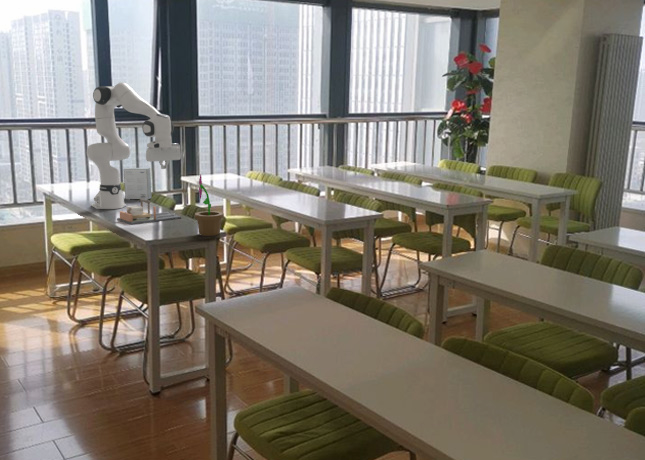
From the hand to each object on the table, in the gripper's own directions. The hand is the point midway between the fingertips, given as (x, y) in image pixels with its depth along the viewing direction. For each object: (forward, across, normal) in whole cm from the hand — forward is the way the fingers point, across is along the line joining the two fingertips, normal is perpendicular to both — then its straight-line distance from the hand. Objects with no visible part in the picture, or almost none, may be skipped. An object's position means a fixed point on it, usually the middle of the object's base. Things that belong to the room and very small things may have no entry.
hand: (164, 168), depth 394 cm
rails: (+27, +11, +2) cm, 29 cm away
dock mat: (+27, +11, +2) cm, 29 cm away
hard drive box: (+28, -17, -66) cm, 73 cm away
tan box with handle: (+26, +18, +2) cm, 31 cm away
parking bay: (+26, +18, +2) cm, 32 cm away
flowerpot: (+27, +6, +55) cm, 61 cm away
